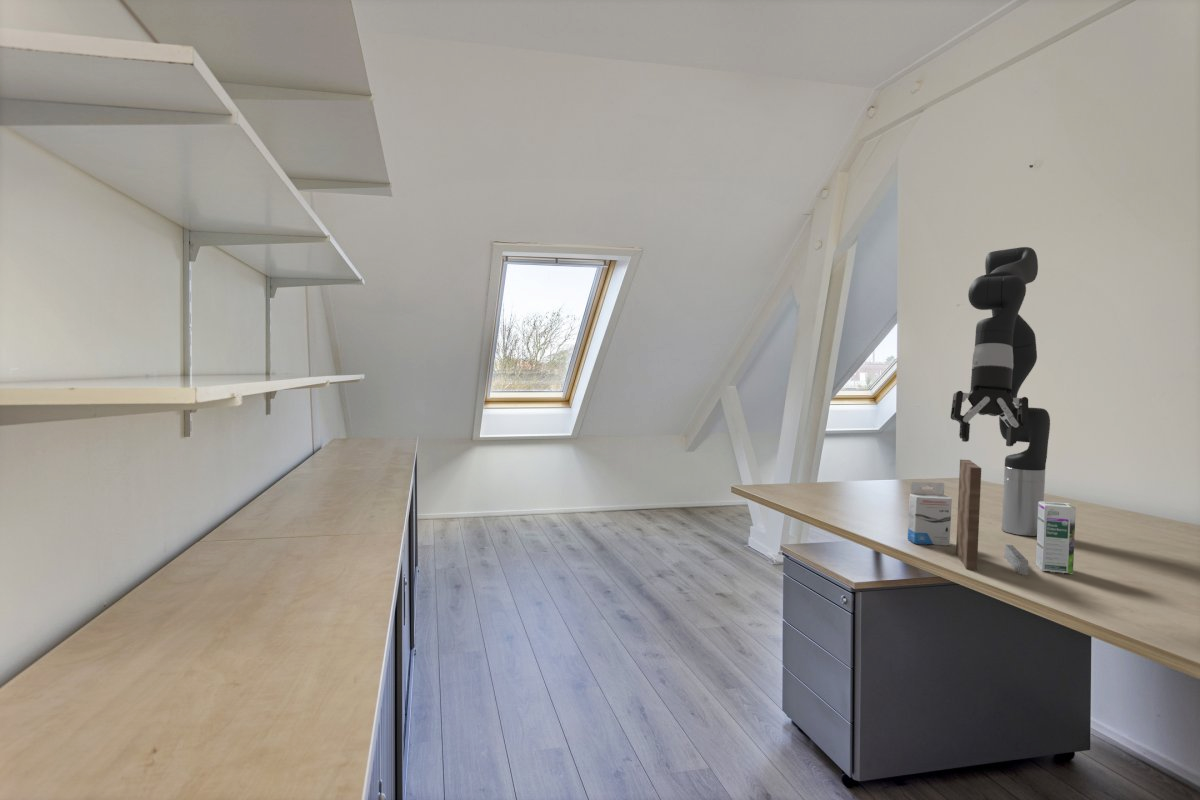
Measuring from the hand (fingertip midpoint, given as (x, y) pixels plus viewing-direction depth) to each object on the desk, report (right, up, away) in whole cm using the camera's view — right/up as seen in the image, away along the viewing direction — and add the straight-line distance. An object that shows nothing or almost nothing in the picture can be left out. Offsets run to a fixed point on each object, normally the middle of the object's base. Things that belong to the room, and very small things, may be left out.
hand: (987, 443), depth 144 cm
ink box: (+1, -26, +27) cm, 38 cm away
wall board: (+6, -27, +9) cm, 29 cm away
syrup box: (+17, -28, +5) cm, 33 cm away
